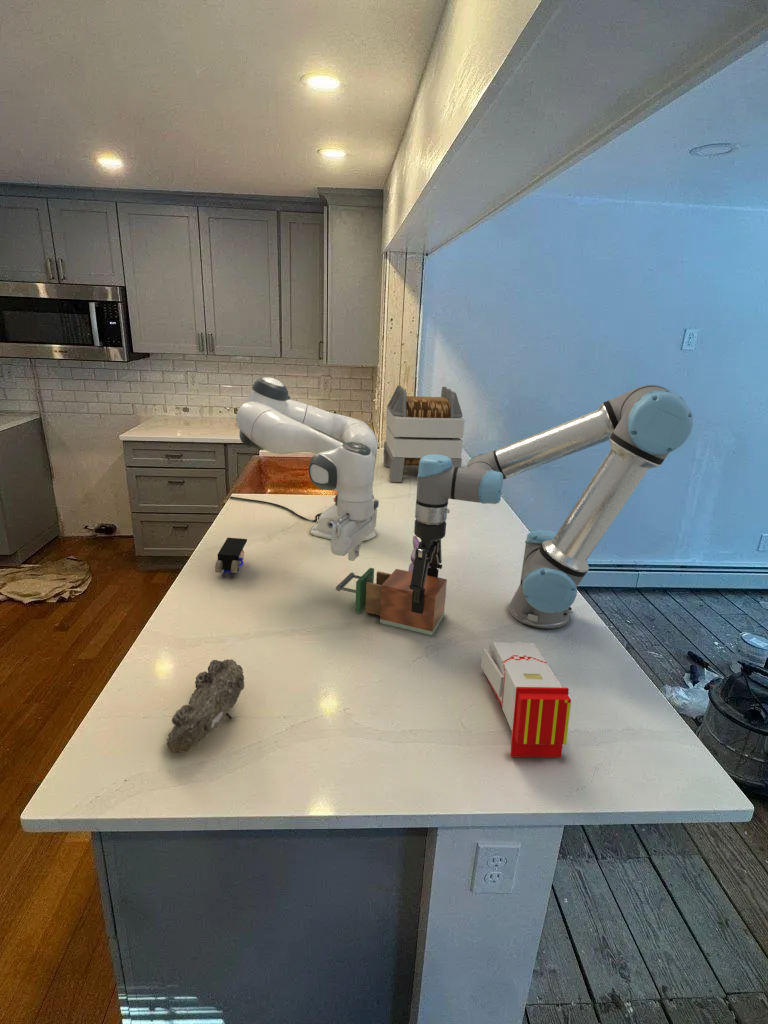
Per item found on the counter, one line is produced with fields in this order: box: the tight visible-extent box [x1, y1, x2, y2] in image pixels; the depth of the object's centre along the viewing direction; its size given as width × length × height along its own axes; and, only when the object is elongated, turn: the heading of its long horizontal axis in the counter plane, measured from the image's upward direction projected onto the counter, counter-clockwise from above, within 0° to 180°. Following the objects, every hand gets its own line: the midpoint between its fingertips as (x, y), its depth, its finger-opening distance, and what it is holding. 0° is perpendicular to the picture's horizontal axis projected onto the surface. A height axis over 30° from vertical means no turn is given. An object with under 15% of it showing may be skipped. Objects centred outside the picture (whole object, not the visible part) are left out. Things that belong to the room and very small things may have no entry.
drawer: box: [335, 567, 392, 616], centre depth 147 cm, size 18×9×9 cm, turn 69°
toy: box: [480, 641, 572, 758], centre depth 113 cm, size 12×13×30 cm
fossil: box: [166, 658, 245, 754], centre depth 106 cm, size 22×10×15 cm
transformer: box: [383, 384, 465, 483], centre depth 268 cm, size 34×33×41 cm
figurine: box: [407, 535, 431, 572], centre depth 161 cm, size 9×10×15 cm
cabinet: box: [379, 568, 448, 636], centre depth 144 cm, size 14×10×11 cm
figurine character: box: [214, 537, 248, 578], centre depth 166 cm, size 7×8×15 cm
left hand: (353, 558), depth 146 cm, fingers closed
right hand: (424, 601), depth 142 cm, fingers open, 11 cm apart
